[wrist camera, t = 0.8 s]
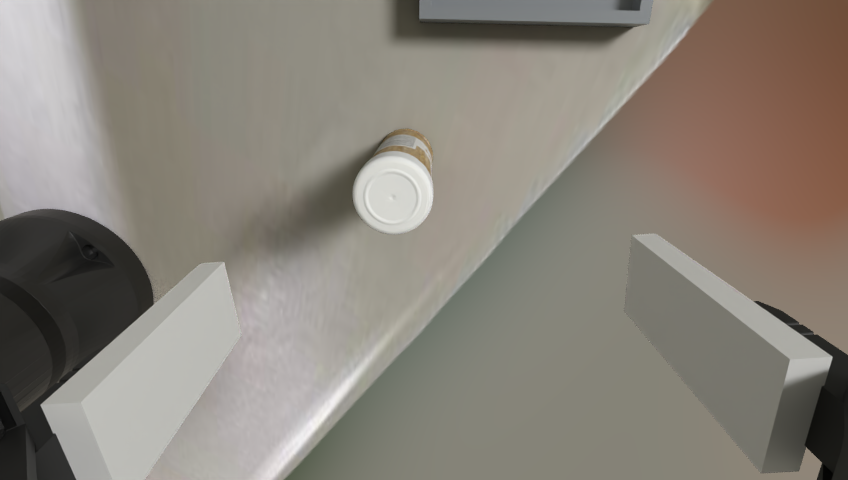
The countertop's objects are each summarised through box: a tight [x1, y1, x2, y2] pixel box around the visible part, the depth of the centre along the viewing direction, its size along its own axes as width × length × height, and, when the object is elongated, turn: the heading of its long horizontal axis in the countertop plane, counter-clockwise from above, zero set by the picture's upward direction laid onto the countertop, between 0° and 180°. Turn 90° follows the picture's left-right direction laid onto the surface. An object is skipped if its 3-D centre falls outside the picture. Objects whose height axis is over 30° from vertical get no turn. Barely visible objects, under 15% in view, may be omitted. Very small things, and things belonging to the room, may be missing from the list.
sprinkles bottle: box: [352, 129, 433, 234], centre depth 31 cm, size 5×5×13 cm
